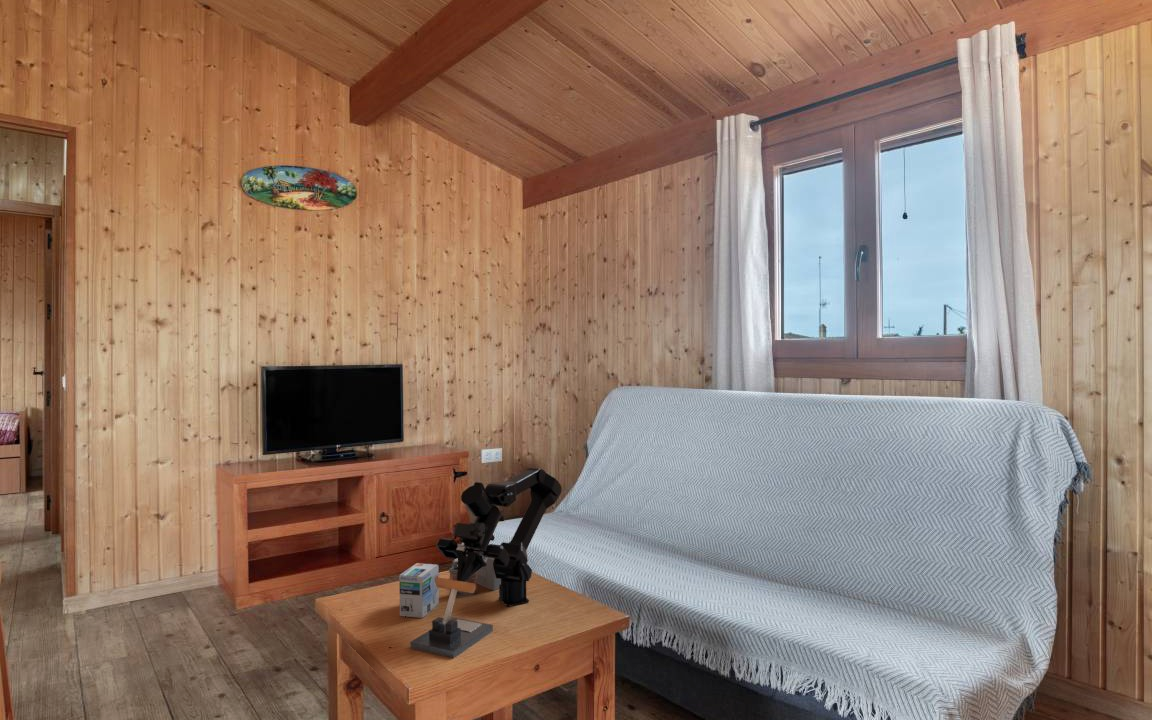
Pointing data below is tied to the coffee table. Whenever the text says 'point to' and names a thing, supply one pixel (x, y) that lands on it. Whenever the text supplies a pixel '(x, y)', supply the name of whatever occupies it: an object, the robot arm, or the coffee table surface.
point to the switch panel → (455, 645)
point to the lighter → (471, 580)
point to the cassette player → (488, 576)
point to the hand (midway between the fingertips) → (458, 583)
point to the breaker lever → (453, 592)
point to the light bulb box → (418, 590)
